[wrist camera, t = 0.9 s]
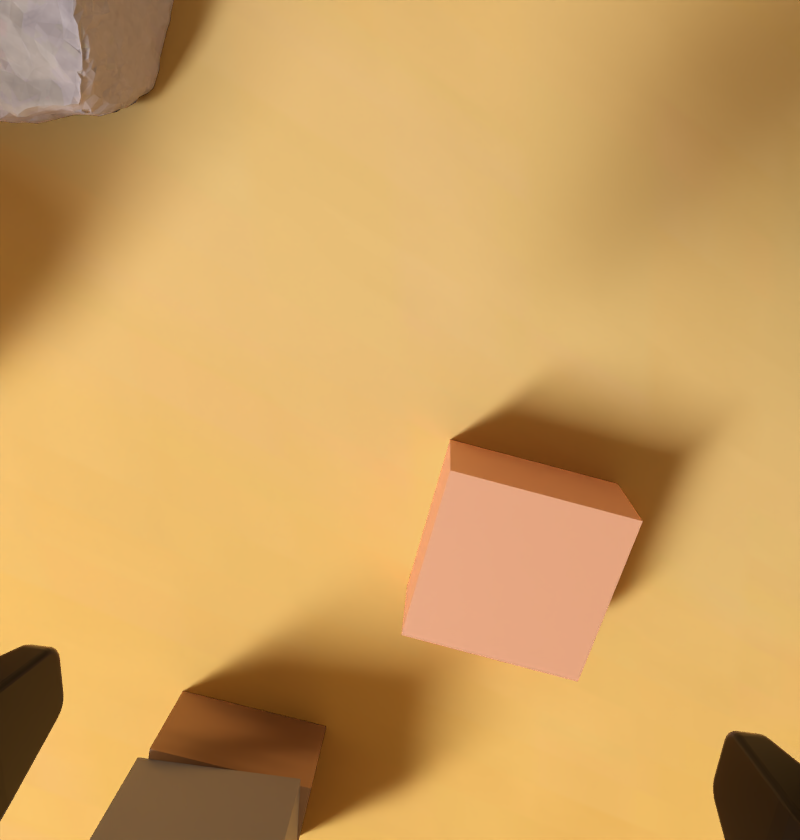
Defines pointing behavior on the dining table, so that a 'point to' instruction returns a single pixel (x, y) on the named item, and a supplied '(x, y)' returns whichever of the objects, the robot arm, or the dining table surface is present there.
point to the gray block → (200, 805)
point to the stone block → (77, 56)
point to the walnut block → (240, 741)
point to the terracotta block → (518, 560)
